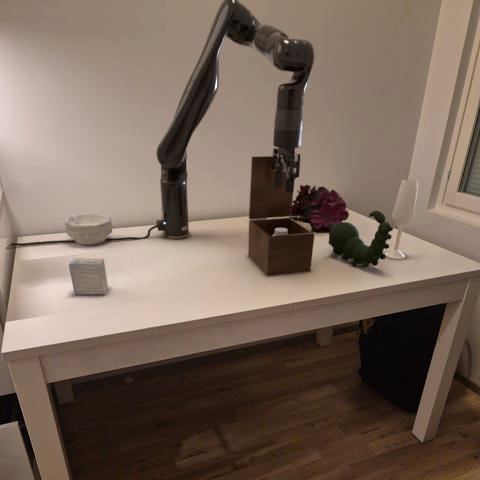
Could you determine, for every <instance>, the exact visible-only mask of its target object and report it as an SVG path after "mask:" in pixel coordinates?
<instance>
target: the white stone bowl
mask: <svg viewBox="0 0 480 480" xmlns="http://www.w3.org/2000/svg"><path fill="white" fill-rule="evenodd" d="M64 226H65V230H66V231H65V232H66V235H67V236H68V237H70V238H72V239H73V240H75V241H76V242H75V243H77V244H80V245H85V246H92V245H99V244H101V243H103V242H106V241H105V239H108V236H109V235H111V234H112V233H113V223H112V218H111V217H110V216H109V215H106V214H102V213H79V214H74V215H70V216H68V217H66V218H65V220H64Z"/></svg>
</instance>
